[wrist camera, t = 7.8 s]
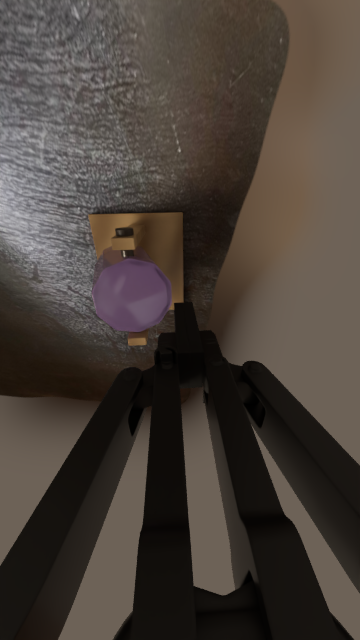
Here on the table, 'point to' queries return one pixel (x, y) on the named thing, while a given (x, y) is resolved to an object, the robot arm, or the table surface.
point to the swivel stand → (145, 246)
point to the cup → (130, 290)
